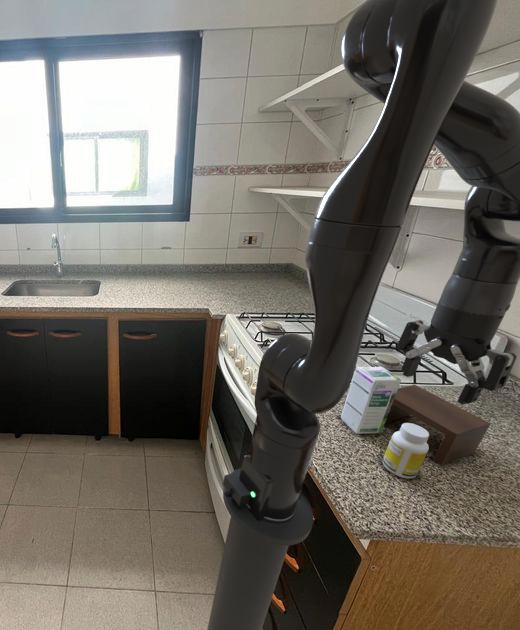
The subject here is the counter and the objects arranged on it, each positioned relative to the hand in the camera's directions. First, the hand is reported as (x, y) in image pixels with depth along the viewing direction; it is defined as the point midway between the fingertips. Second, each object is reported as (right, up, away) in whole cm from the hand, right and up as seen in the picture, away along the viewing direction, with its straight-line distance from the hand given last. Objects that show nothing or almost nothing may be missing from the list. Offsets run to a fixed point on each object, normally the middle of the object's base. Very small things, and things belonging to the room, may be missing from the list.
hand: (434, 388), depth 61 cm
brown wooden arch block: (+12, -14, +16) cm, 24 cm away
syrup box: (+1, -13, +19) cm, 23 cm away
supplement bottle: (0, -18, +8) cm, 20 cm away
